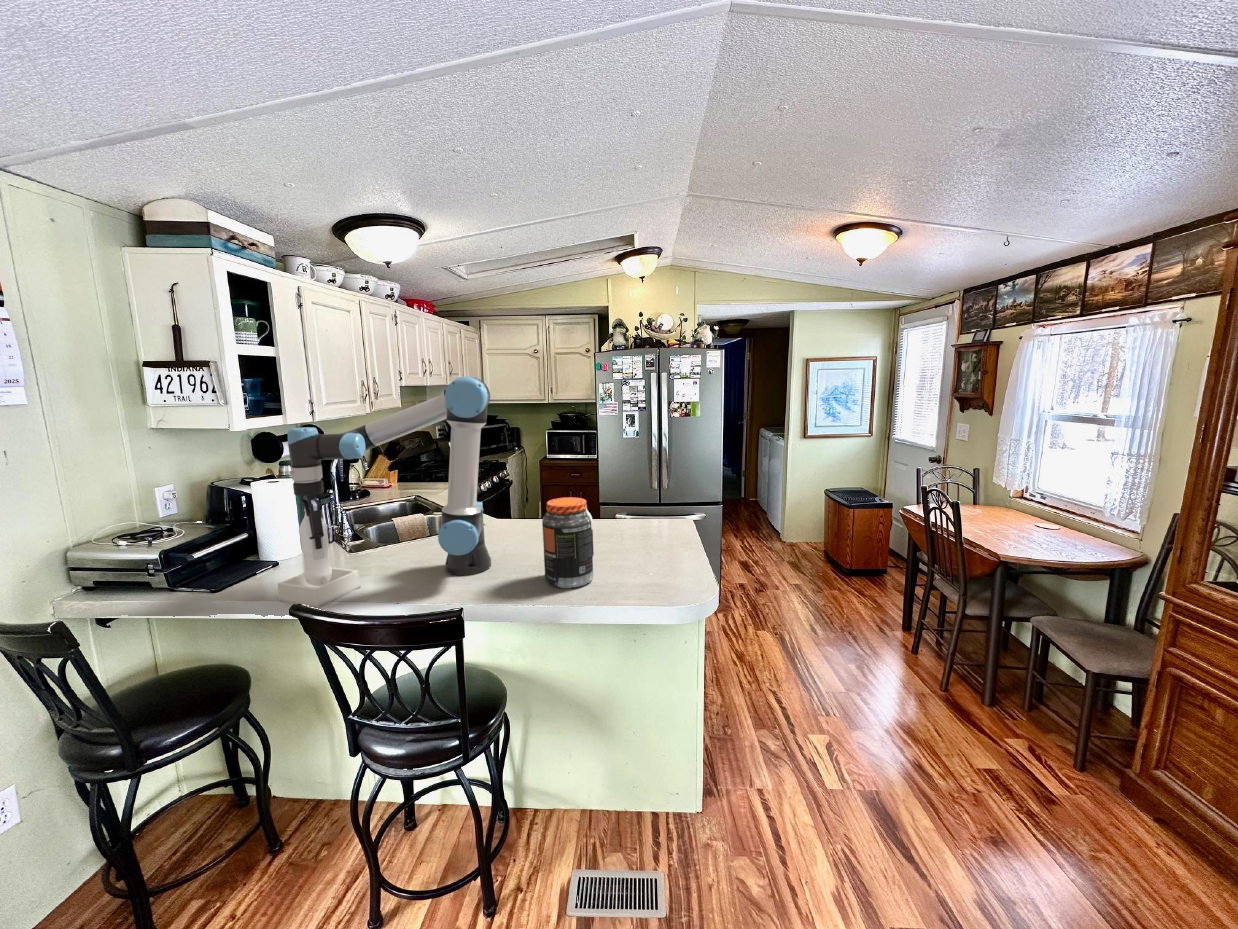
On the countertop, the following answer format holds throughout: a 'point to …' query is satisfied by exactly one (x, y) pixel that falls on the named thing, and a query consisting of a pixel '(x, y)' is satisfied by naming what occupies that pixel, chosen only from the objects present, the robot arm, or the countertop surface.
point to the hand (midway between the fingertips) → (316, 555)
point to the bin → (319, 588)
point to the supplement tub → (568, 543)
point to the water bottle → (313, 568)
